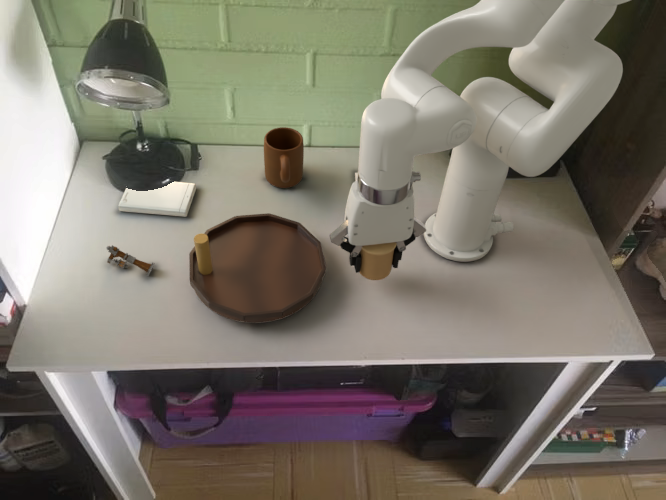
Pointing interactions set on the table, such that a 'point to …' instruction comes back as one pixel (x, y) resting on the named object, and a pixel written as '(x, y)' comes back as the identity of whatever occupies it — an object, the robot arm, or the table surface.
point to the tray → (256, 267)
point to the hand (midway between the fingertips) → (374, 263)
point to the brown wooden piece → (127, 260)
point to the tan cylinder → (377, 260)
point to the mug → (283, 157)
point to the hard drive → (160, 200)
